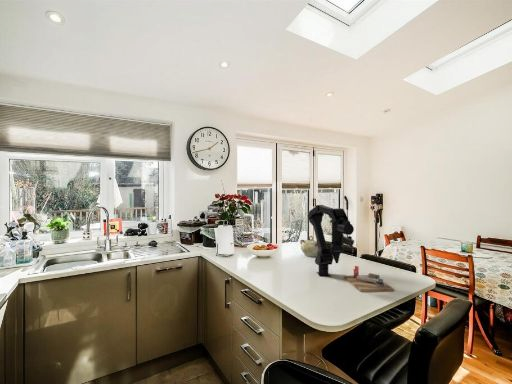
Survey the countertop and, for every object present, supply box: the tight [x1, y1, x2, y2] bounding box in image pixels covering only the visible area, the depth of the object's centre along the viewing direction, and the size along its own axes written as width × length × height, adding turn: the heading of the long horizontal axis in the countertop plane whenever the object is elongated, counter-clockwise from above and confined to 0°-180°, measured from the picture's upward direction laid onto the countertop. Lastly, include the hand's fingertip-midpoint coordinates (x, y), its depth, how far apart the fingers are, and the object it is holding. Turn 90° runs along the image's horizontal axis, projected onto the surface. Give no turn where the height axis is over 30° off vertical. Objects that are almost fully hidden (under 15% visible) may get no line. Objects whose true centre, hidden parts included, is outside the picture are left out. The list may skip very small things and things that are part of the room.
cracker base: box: [343, 272, 395, 293], centre depth 133 cm, size 20×17×4 cm
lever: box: [353, 265, 384, 284], centre depth 133 cm, size 15×3×6 cm, turn 47°
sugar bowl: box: [299, 235, 319, 257], centre depth 193 cm, size 20×15×15 cm
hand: (337, 260), depth 135 cm, fingers open, 9 cm apart
